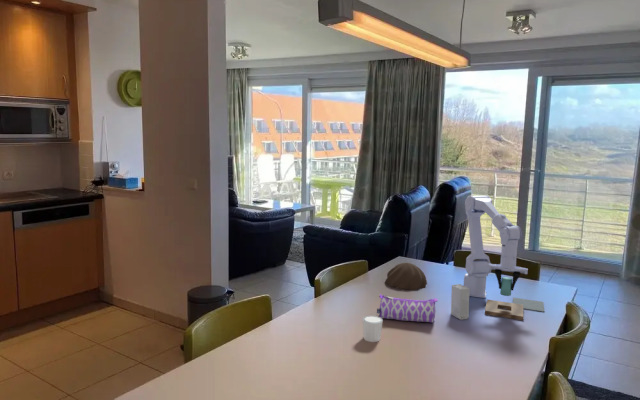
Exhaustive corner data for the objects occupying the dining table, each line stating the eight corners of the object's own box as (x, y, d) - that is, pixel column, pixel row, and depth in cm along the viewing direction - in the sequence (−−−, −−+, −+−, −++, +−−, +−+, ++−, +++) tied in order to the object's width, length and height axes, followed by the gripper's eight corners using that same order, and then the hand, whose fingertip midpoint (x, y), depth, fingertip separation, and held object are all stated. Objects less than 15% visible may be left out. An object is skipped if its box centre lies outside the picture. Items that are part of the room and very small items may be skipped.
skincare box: (468, 318, 181) (471, 288, 179) (459, 320, 180) (461, 289, 178) (459, 313, 187) (461, 283, 185) (449, 314, 185) (451, 284, 184)
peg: (500, 295, 188) (501, 279, 187) (500, 291, 192) (501, 276, 191) (510, 296, 186) (512, 280, 185) (511, 293, 190) (512, 277, 189)
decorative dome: (384, 276, 233) (384, 256, 232) (424, 278, 232) (425, 258, 230) (385, 289, 214) (386, 267, 213) (430, 291, 213) (431, 269, 211)
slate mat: (512, 307, 194) (512, 306, 194) (512, 298, 205) (513, 297, 205) (544, 312, 190) (544, 311, 190) (543, 302, 201) (543, 301, 201)
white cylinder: (369, 344, 157) (369, 324, 156) (358, 336, 163) (358, 317, 162) (386, 340, 160) (386, 321, 159) (374, 332, 166) (375, 314, 166)
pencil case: (376, 321, 177) (377, 297, 176) (378, 312, 186) (379, 289, 185) (436, 327, 173) (438, 302, 172) (435, 317, 182) (436, 294, 181)
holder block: (484, 314, 186) (484, 310, 186) (487, 302, 199) (487, 299, 199) (523, 320, 181) (523, 316, 181) (522, 308, 194) (523, 304, 193)
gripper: (488, 255, 186) (486, 289, 188) (528, 260, 180) (525, 294, 182) (489, 251, 192) (487, 284, 194) (528, 256, 187) (525, 289, 189)
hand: (506, 288), depth 189 cm, fingers closed on peg, 4 cm apart
